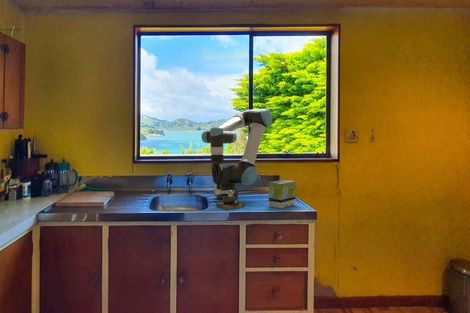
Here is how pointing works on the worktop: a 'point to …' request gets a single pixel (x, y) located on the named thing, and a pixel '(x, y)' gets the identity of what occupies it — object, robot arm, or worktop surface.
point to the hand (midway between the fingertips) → (217, 194)
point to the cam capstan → (229, 198)
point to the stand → (230, 205)
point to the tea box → (282, 193)
